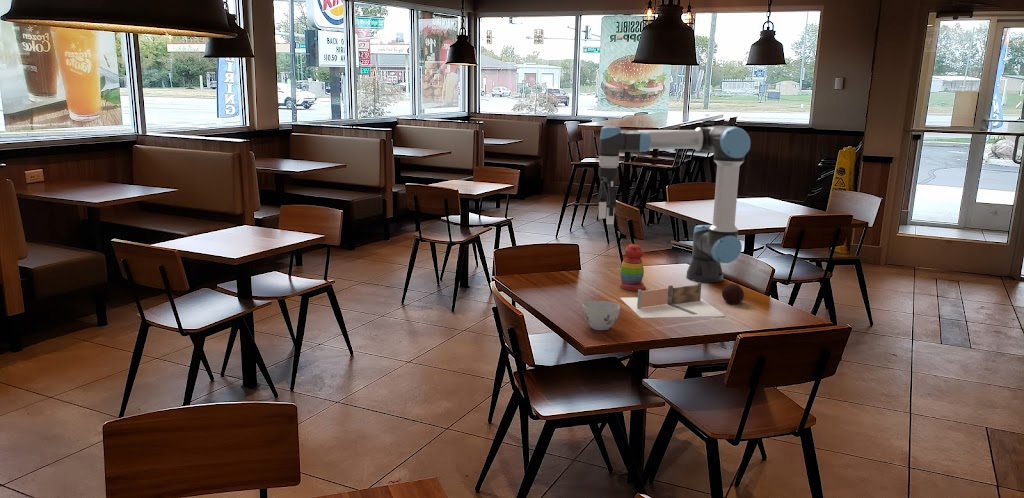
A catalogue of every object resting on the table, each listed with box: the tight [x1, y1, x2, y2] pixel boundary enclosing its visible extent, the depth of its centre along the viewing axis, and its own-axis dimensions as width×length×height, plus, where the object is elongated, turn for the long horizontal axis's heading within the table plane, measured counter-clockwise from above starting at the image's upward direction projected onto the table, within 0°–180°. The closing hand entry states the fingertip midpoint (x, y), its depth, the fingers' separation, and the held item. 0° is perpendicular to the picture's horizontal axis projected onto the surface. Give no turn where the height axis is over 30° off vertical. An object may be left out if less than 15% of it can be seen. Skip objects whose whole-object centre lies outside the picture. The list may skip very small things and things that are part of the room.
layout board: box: [620, 296, 727, 319], centre depth 279 cm, size 31×26×1 cm
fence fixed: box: [667, 281, 703, 305], centre depth 284 cm, size 16×2×7 cm, turn 118°
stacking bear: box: [619, 242, 647, 292], centre depth 305 cm, size 11×10×18 cm
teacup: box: [581, 300, 621, 331], centre depth 254 cm, size 15×12×8 cm
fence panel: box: [637, 287, 668, 308], centre depth 277 cm, size 13×1×7 cm, turn 118°
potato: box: [721, 283, 745, 305], centre depth 286 cm, size 8×9×8 cm
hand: (605, 221), depth 298 cm, fingers open, 13 cm apart
